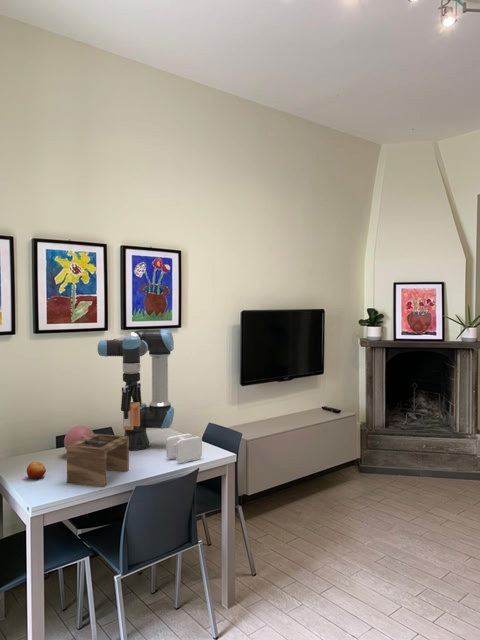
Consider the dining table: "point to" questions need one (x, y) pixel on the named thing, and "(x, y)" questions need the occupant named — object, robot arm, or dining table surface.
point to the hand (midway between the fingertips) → (131, 423)
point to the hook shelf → (96, 459)
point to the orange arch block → (133, 416)
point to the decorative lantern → (77, 435)
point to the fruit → (35, 470)
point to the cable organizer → (184, 448)
